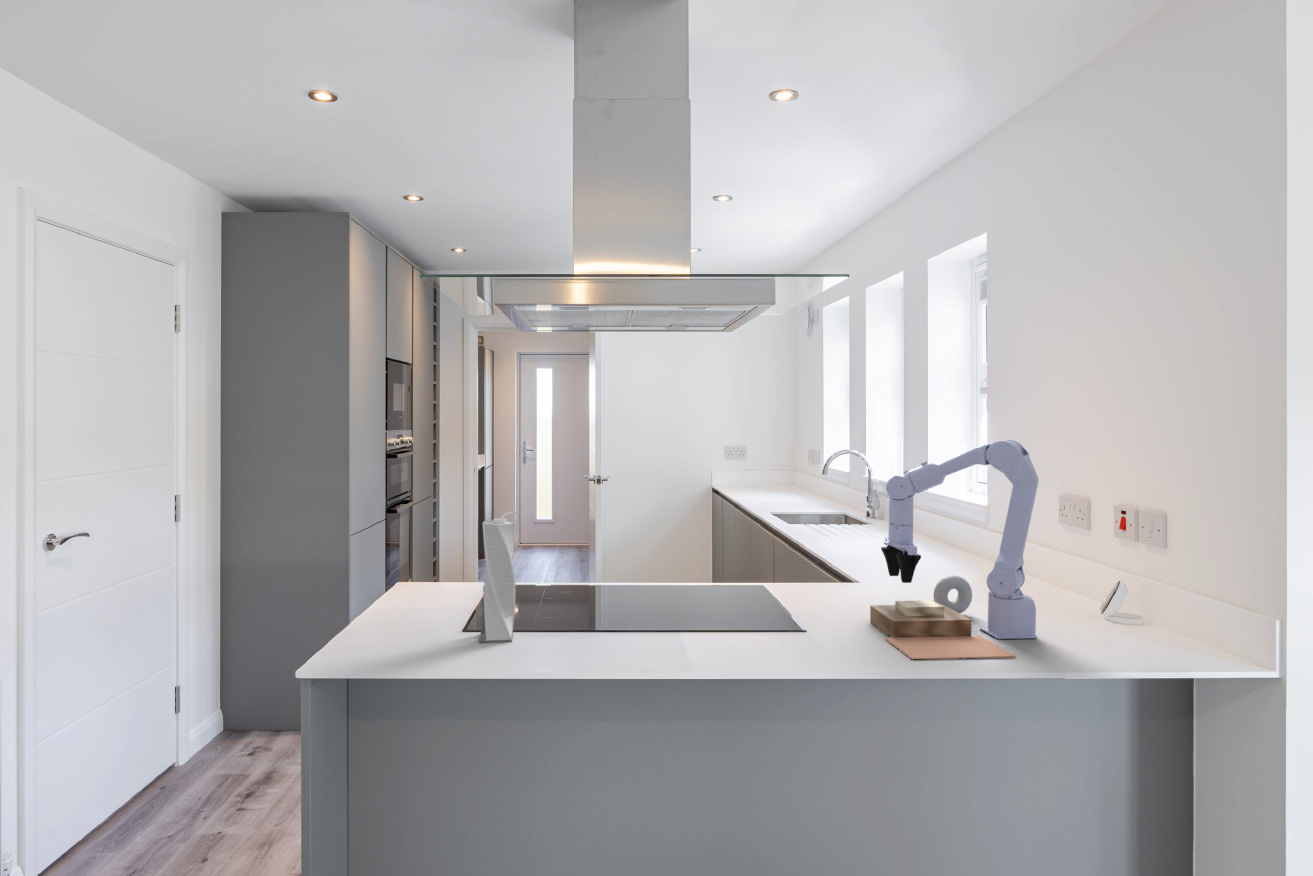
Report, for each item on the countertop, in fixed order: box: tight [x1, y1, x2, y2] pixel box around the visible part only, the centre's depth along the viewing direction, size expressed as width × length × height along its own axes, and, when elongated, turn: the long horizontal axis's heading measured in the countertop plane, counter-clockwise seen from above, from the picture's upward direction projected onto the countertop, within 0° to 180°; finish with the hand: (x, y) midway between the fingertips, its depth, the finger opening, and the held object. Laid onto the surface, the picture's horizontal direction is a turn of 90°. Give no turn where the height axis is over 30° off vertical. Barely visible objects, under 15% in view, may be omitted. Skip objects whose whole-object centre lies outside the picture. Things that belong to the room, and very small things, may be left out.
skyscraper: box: [478, 510, 520, 644], centre depth 165 cm, size 8×8×28 cm
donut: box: [932, 574, 973, 614], centre depth 188 cm, size 10×4×10 cm, turn 99°
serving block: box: [869, 604, 973, 638], centre depth 175 cm, size 18×14×4 cm
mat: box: [884, 635, 1016, 661], centre depth 160 cm, size 22×14×1 cm, turn 95°
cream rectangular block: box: [894, 599, 944, 616], centre depth 174 cm, size 9×6×2 cm, turn 95°
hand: (900, 579), depth 185 cm, fingers open, 7 cm apart
